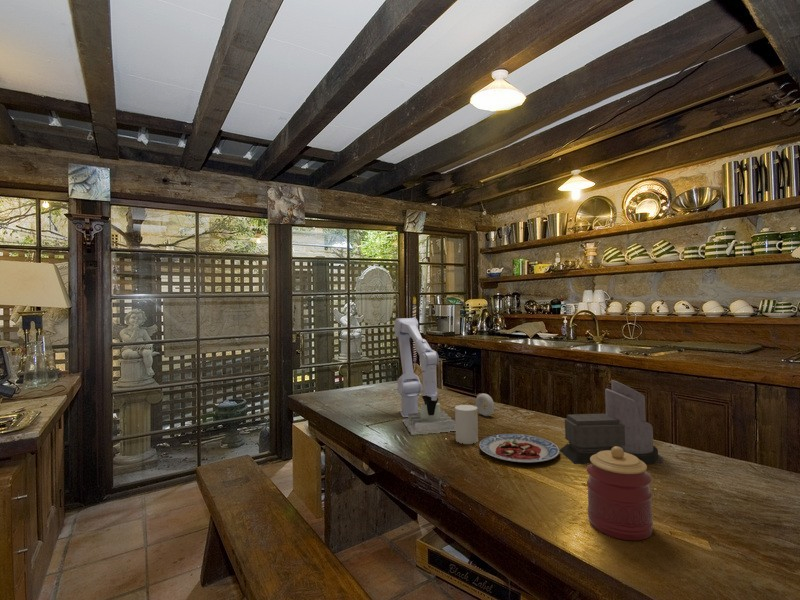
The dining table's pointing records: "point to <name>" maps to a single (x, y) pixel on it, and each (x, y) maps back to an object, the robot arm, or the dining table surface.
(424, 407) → the grey rectangular block
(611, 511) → the canister
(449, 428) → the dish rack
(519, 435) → the ceramic plate
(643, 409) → the grey napkin holder
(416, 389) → the robot arm
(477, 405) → the donut
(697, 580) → the dining table surface
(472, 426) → the white cylinder
